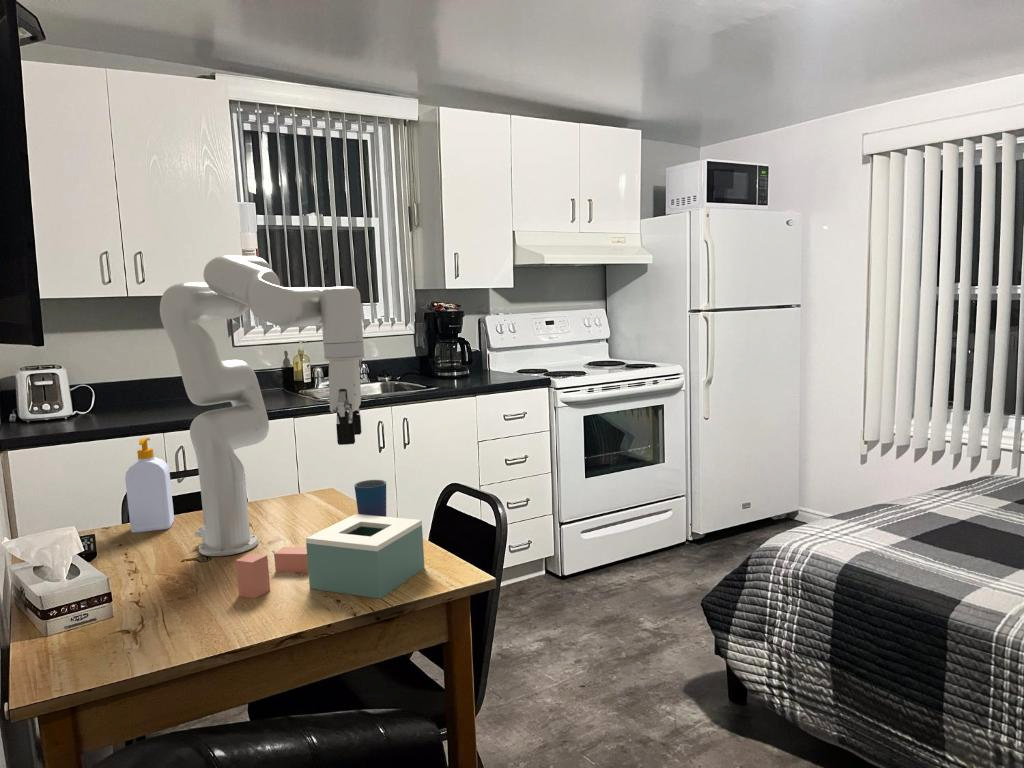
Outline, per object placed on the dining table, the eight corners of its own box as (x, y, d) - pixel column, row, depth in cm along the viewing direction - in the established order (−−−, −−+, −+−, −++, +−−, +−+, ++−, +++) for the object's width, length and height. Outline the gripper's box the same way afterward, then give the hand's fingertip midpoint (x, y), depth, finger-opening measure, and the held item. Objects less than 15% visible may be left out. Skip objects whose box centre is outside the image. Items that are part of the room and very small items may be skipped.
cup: (383, 556, 157) (379, 487, 155) (353, 555, 158) (349, 487, 156) (395, 545, 163) (390, 479, 162) (366, 544, 165) (361, 479, 163)
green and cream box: (309, 588, 141) (305, 538, 140) (358, 559, 155) (355, 513, 154) (380, 598, 134) (376, 546, 133) (424, 567, 149) (421, 520, 148)
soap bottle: (130, 534, 180) (120, 442, 178) (136, 526, 187) (126, 437, 184) (170, 529, 183) (160, 439, 180) (174, 521, 190) (165, 434, 187)
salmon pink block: (239, 595, 139) (235, 560, 138) (254, 587, 143) (251, 553, 142) (255, 598, 137) (252, 562, 136) (270, 590, 141) (267, 555, 140)
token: (275, 572, 151) (274, 553, 150) (284, 565, 155) (283, 546, 154) (307, 573, 150) (306, 554, 149) (316, 565, 154) (314, 547, 153)
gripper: (331, 349, 149) (337, 432, 151) (315, 356, 132) (322, 449, 134) (368, 347, 150) (374, 430, 152) (358, 354, 133) (364, 447, 135)
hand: (350, 439), depth 143 cm, fingers open, 9 cm apart
